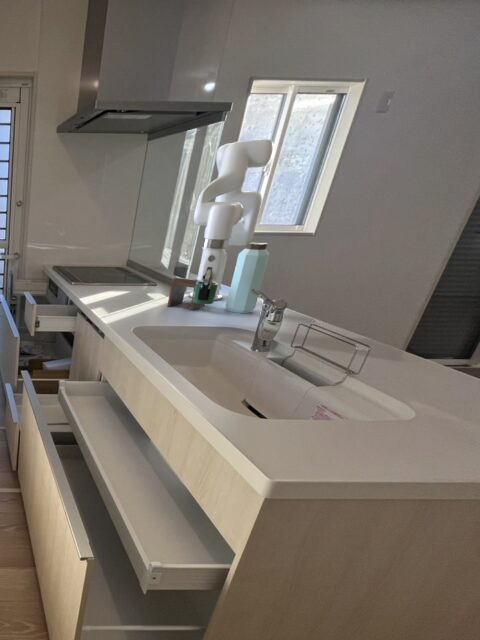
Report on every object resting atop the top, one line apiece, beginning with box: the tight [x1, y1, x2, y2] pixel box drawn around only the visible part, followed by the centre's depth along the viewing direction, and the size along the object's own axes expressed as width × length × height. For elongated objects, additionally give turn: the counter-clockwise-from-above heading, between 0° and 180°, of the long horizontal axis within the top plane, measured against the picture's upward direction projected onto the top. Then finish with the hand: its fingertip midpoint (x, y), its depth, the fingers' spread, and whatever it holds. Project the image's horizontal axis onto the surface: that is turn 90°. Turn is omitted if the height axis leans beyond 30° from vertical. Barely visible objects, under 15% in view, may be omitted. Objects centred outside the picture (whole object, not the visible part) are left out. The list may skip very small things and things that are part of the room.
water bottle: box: [225, 242, 270, 314], centre depth 155 cm, size 10×10×25 cm
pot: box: [191, 281, 218, 305], centre depth 142 cm, size 7×7×6 cm
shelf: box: [166, 277, 206, 311], centre depth 165 cm, size 11×10×12 cm
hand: (203, 297), depth 143 cm, fingers closed on pot, 6 cm apart
